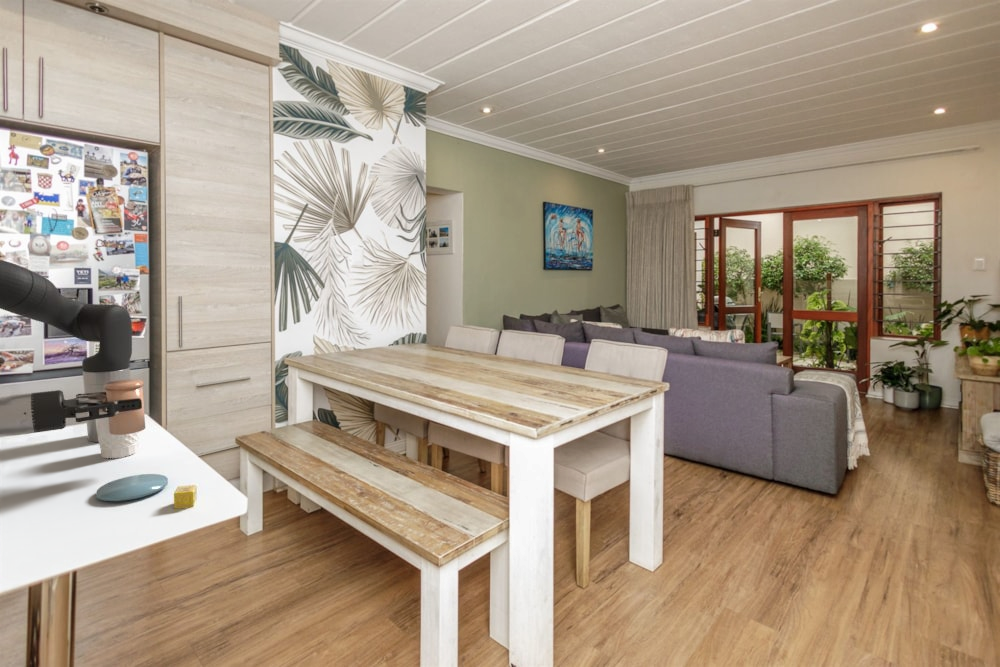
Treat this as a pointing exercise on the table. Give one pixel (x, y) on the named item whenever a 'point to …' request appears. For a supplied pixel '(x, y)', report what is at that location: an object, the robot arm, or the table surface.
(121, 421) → the dome-topped peach cylinder
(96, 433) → the robot arm
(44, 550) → the table surface
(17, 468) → the table surface
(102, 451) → the white cup
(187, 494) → the alphabet block
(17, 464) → the table surface
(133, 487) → the blue-grey round disc
